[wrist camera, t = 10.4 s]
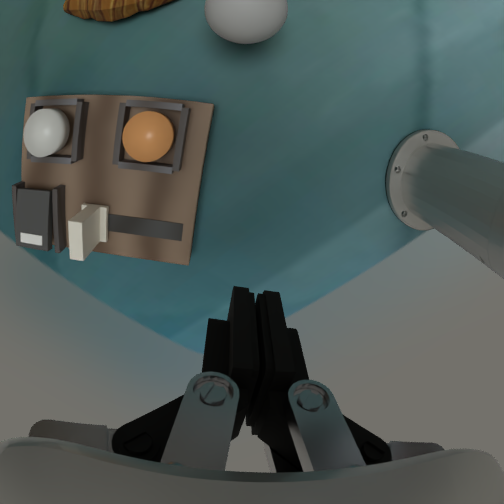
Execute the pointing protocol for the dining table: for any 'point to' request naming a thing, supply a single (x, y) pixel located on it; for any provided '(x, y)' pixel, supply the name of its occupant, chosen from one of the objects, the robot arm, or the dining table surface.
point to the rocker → (34, 218)
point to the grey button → (46, 132)
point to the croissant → (109, 8)
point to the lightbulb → (246, 19)
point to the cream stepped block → (87, 230)
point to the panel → (123, 174)
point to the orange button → (148, 136)
